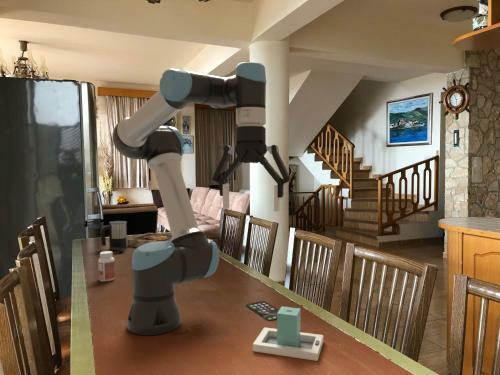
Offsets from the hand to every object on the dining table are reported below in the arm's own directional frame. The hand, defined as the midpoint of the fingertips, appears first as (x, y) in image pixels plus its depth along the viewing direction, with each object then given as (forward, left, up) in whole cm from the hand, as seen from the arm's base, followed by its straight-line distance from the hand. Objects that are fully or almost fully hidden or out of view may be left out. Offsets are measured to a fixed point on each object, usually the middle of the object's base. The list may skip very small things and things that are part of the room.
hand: (250, 209), depth 101 cm
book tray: (-90, +102, -35) cm, 140 cm away
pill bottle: (-72, +35, -35) cm, 87 cm away
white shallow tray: (+10, 0, -35) cm, 36 cm away
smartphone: (-2, +22, -35) cm, 42 cm away
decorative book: (-89, +101, -35) cm, 139 cm away
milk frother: (-101, +82, -35) cm, 134 cm away
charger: (+10, 0, -34) cm, 36 cm away
